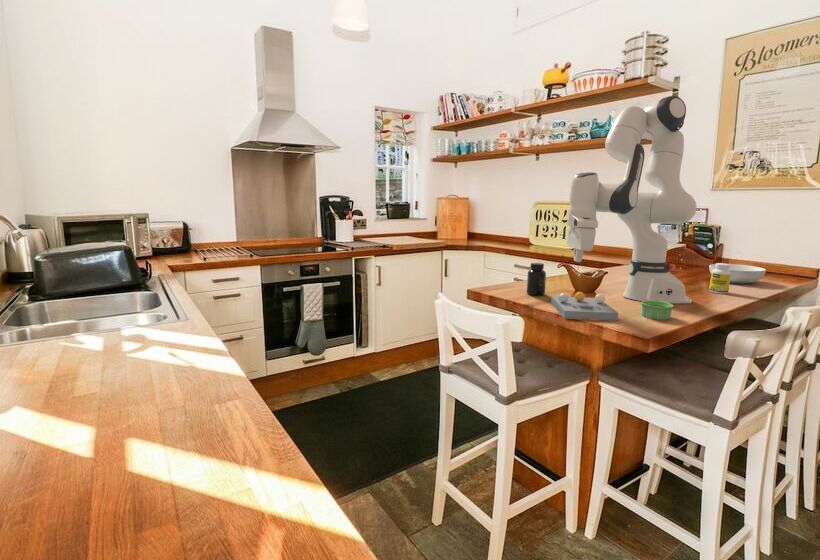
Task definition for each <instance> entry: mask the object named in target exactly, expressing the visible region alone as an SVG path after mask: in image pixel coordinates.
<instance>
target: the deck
mask: <svg viewBox="0 0 820 560" xmlns="http://www.w3.org/2000/svg"><path fill="white" fill-rule="evenodd" d="M558 297H559V296H551V299H550V304H551V305H552V307H554V309H555V308H556V309H555V310H556V311H557V312H558V313H559V315H560V316H561V317H562V318H563V319H566V320H567V319H569V320H586V319H589V320H590V321H591V320H592V321H613V322H614V321H617V322H618V320H619V312H618V311H616V310H615V309H614V308H613V307H612V306H610V305H608V304H607V303H605V301H604V302H603V303H597V302H596V301H595V297H585V298H584V300H583V301H577V300H576V299H575V296H568V297H569V299H568V301H567V302H565V303H562V302H560V301H559V298H558Z"/></svg>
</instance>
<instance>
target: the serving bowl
mask: <svg viewBox="0 0 820 560" xmlns="http://www.w3.org/2000/svg"><path fill="white" fill-rule="evenodd" d="M729 264H730V267H729V268H728V270H729V271H730V272H731V278H730V284H731V283H732V284H738V285H739V284H740V285H743V284H750V283H756V282H757V281H758V282H759V280H761V279H763V278H764V276H765V274H766V272H767V269H766V268H763V267H759V266H755V265H746V264H736V263H735V264H734V263H729ZM715 265H716V263H714V264H713V263H712V264H709V267H708V268H709V270H708V271H709V273H710V274H711V273H712V270H714V269H716V267H715Z"/></svg>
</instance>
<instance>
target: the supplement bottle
mask: <svg viewBox="0 0 820 560" xmlns="http://www.w3.org/2000/svg"><path fill="white" fill-rule="evenodd" d="M544 267H545V265H544V263H542V262H531V263H530V267H529V268H530V269H529V270H528V272H527V279H526V281H527V282H526V293H527V295H528V294H529V296H533V295H534V296H536V297H541V296H545V294H546V282H547V281H546V279H547V272H546V270H544ZM534 296H533V297H534Z"/></svg>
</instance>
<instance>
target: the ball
mask: <svg viewBox="0 0 820 560" xmlns="http://www.w3.org/2000/svg"><path fill="white" fill-rule="evenodd" d="M574 297H575V299H576V300H577V301H583V300H584V298H586V295H585V293H583V292H582V291H577V292H575V294H574Z"/></svg>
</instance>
